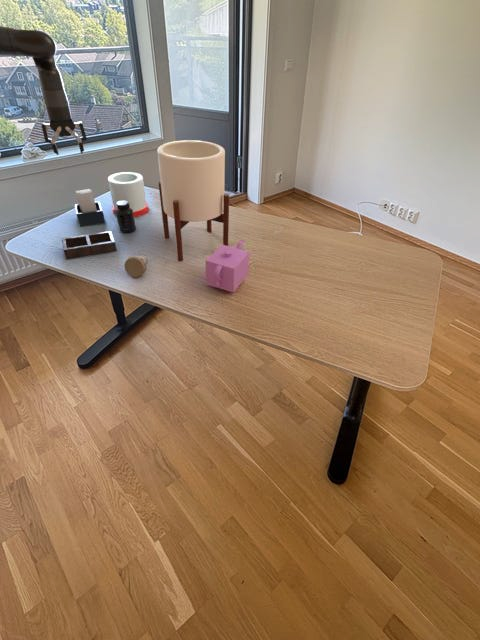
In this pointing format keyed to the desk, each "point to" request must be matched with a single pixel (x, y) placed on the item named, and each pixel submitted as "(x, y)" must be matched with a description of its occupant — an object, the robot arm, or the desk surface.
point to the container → (128, 191)
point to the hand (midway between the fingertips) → (69, 153)
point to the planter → (192, 186)
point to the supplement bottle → (125, 217)
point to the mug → (136, 265)
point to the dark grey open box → (90, 216)
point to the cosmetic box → (86, 200)
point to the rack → (88, 245)
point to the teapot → (227, 267)
